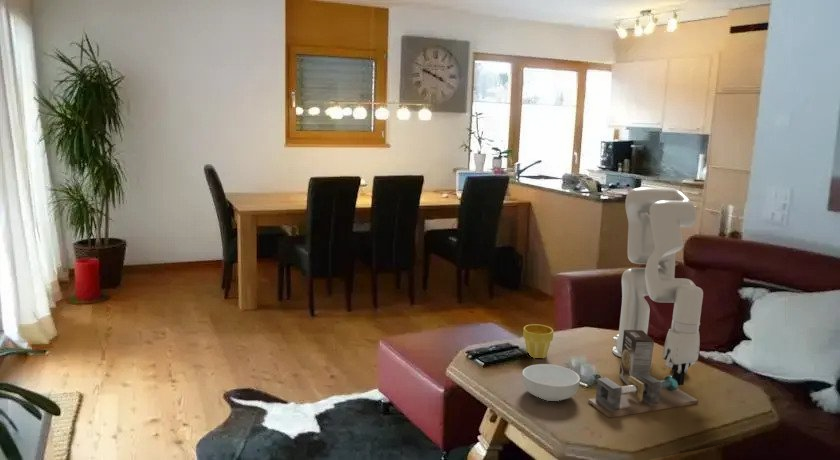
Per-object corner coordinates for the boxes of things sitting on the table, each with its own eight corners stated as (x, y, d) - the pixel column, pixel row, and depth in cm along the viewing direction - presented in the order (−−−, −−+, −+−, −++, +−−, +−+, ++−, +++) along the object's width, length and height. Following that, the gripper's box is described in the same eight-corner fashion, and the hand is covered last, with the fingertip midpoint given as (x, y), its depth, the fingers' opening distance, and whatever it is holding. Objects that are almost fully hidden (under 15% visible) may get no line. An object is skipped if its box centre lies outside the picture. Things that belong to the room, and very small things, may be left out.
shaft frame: (673, 389, 202) (676, 365, 201) (697, 403, 193) (700, 378, 191) (588, 402, 191) (590, 377, 189) (609, 417, 182) (612, 391, 180)
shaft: (666, 386, 197) (668, 373, 196) (676, 392, 193) (678, 379, 192) (609, 395, 190) (611, 381, 189) (619, 401, 185) (620, 387, 185)
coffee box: (618, 376, 210) (623, 329, 207) (637, 376, 211) (642, 329, 208) (629, 388, 202) (634, 339, 198) (649, 388, 202) (654, 339, 199)
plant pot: (515, 353, 226) (517, 326, 224) (535, 347, 232) (537, 322, 230) (536, 363, 218) (539, 336, 216) (557, 357, 224) (559, 330, 222)
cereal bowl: (580, 390, 199) (582, 368, 198) (575, 413, 183) (577, 390, 182) (526, 380, 204) (527, 359, 203) (516, 402, 189) (517, 379, 187)
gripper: (694, 320, 198) (687, 375, 202) (656, 324, 192) (649, 381, 196) (714, 328, 191) (706, 385, 195) (674, 332, 186) (667, 392, 189)
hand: (677, 383), depth 195 cm, fingers closed
